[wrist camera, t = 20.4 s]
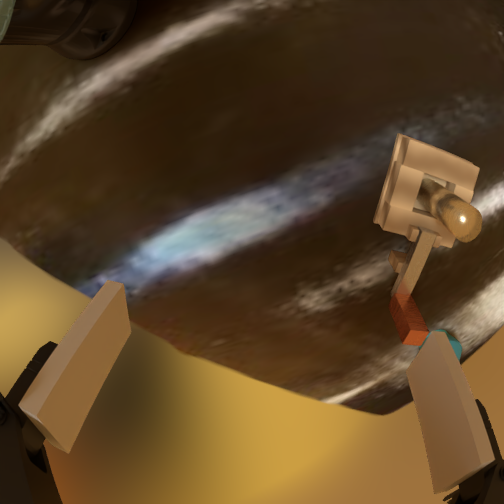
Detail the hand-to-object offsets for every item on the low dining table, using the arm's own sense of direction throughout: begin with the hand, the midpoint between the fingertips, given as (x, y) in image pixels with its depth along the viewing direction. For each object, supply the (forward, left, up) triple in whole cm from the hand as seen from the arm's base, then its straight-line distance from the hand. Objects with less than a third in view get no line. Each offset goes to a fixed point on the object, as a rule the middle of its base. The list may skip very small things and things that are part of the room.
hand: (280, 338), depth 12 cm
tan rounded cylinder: (-2, +20, -30) cm, 36 cm away
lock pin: (+8, +20, -27) cm, 34 cm away
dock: (0, +20, -31) cm, 37 cm away
